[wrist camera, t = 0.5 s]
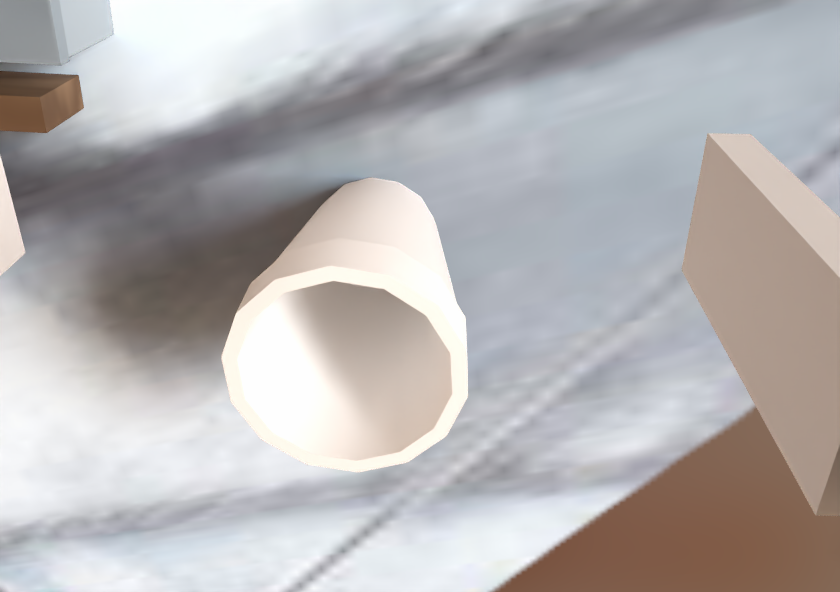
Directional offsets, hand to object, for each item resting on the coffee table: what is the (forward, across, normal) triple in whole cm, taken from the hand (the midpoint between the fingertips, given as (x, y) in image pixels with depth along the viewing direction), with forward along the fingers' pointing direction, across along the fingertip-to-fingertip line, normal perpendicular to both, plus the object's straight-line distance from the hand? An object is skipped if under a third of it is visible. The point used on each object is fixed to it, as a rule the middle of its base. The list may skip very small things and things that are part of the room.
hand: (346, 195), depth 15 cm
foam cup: (+24, -2, -12) cm, 27 cm away
